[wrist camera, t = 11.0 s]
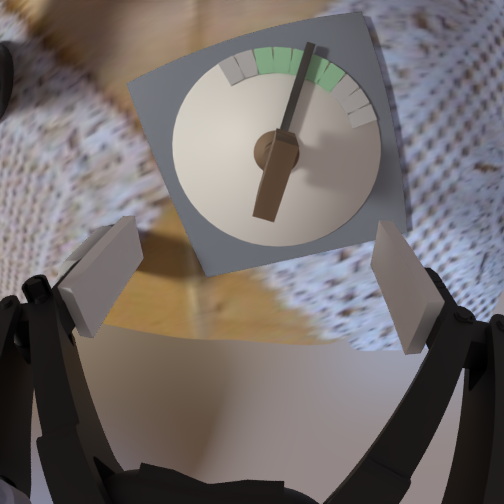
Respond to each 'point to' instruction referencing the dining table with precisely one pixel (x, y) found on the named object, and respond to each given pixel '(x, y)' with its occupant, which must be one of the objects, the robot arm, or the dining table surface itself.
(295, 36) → the dial board
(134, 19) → the dining table surface
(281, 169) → the dial pointer knob
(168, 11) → the dining table surface
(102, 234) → the can
